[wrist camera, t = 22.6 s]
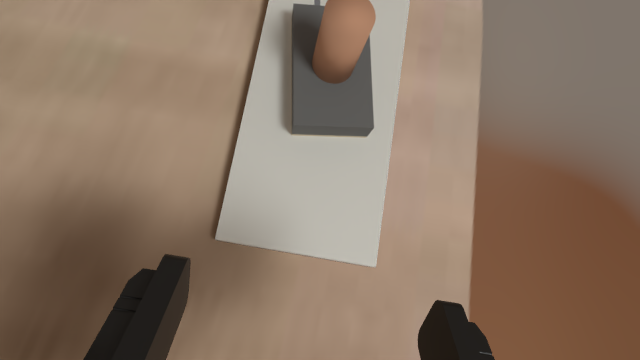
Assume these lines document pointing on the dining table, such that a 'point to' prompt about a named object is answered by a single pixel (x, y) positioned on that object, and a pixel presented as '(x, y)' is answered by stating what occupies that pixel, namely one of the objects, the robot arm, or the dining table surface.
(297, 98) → the sanding block
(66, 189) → the dining table surface
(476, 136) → the dining table surface
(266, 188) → the marked board
